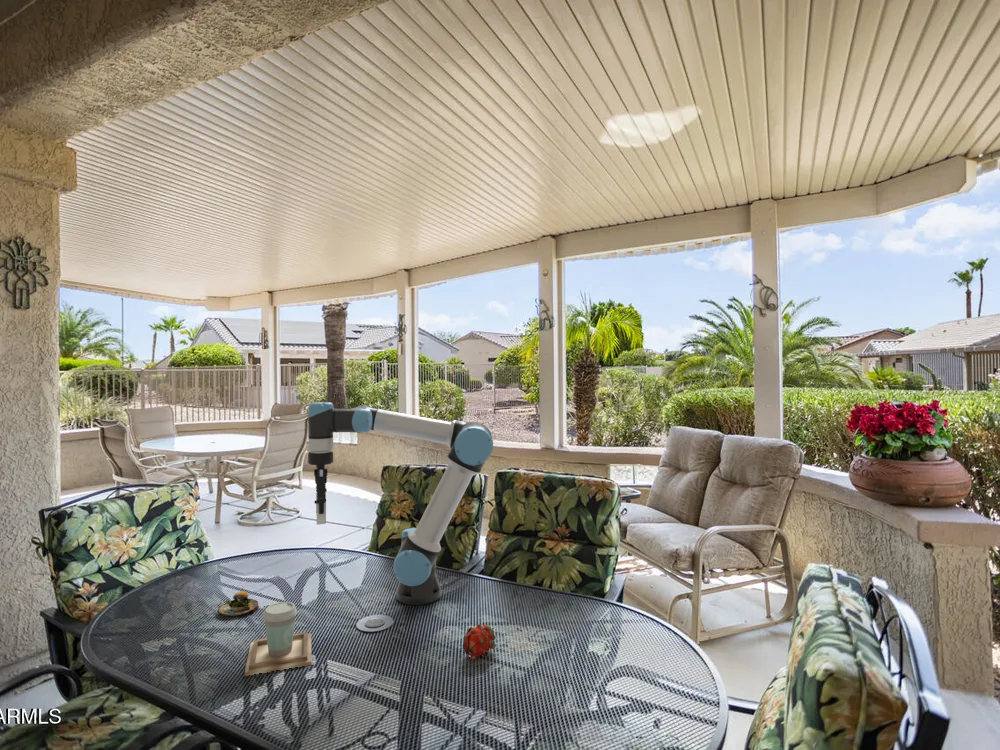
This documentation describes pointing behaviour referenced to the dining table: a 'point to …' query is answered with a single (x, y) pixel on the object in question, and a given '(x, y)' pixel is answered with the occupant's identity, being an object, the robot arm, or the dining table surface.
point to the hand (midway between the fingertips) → (320, 518)
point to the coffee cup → (280, 627)
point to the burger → (239, 605)
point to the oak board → (265, 663)
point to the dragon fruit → (478, 641)
